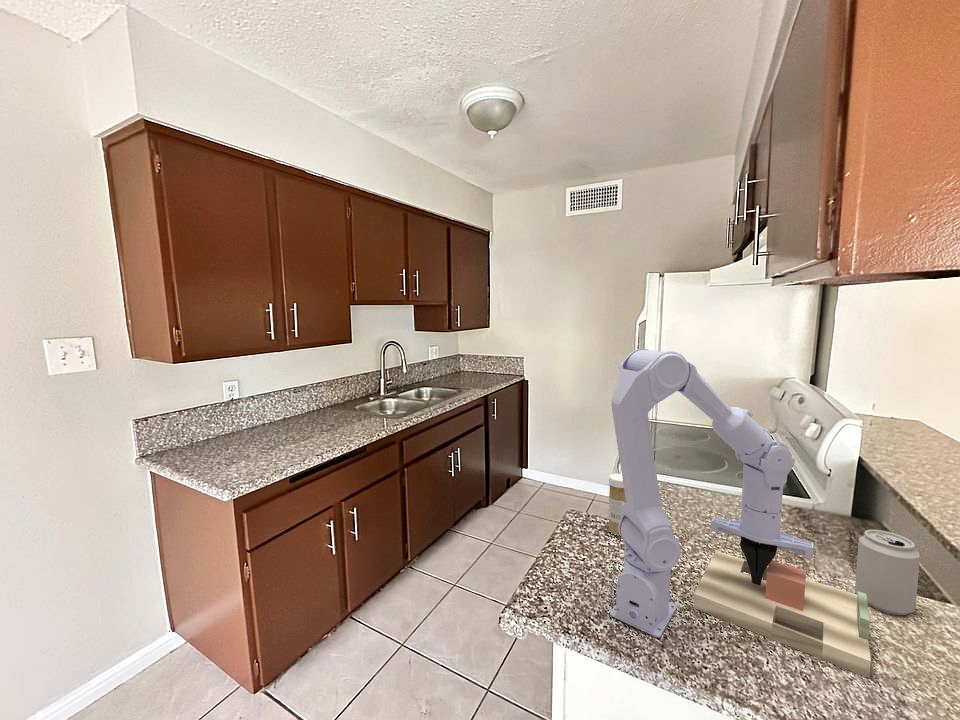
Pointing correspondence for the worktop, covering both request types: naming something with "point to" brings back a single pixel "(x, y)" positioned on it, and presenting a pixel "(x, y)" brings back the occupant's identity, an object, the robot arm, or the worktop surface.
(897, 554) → the can
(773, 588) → the block
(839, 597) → the board
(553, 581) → the worktop surface
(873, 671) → the worktop surface
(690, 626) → the worktop surface
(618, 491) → the sprinkles bottle
